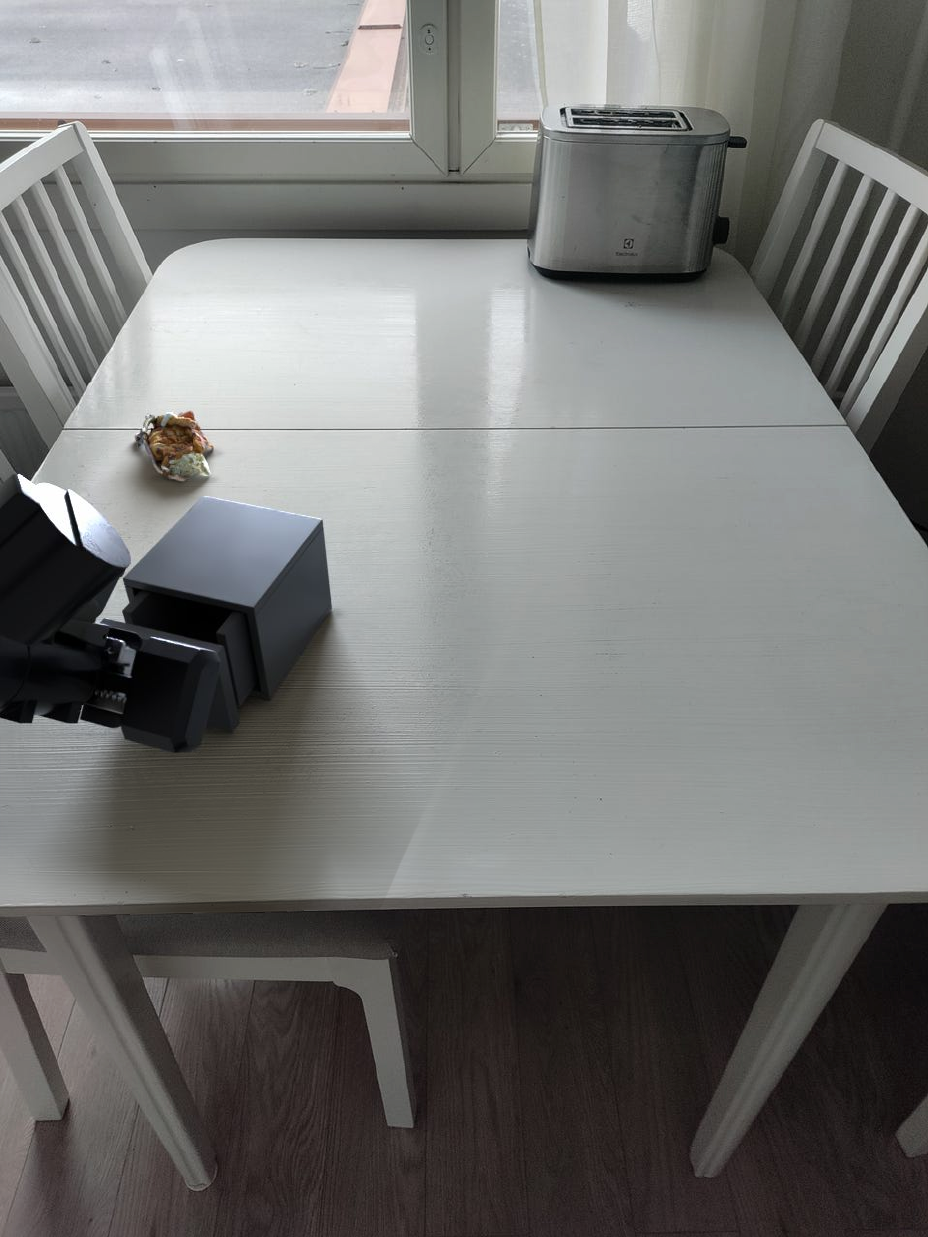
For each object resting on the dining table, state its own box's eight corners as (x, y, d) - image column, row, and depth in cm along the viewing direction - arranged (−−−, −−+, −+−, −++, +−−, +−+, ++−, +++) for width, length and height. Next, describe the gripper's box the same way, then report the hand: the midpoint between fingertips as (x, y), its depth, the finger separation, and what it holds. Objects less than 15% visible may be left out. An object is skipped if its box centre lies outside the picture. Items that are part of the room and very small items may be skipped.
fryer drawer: (224, 745, 70) (206, 668, 65) (109, 715, 72) (84, 638, 67) (296, 641, 79) (286, 566, 74) (192, 616, 81) (175, 542, 76)
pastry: (167, 489, 98) (160, 458, 95) (131, 438, 105) (124, 409, 103) (232, 470, 100) (227, 440, 98) (193, 422, 108) (187, 393, 106)
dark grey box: (270, 700, 75) (253, 608, 69) (147, 670, 77) (121, 578, 71) (332, 608, 83) (323, 518, 77) (220, 584, 86) (203, 495, 80)
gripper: (173, 547, 49) (292, 589, 64) (-119, 484, 54) (57, 536, 69) (119, 759, 49) (252, 751, 64) (-171, 678, 53) (17, 688, 68)
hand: (142, 675), depth 66 cm, fingers closed
